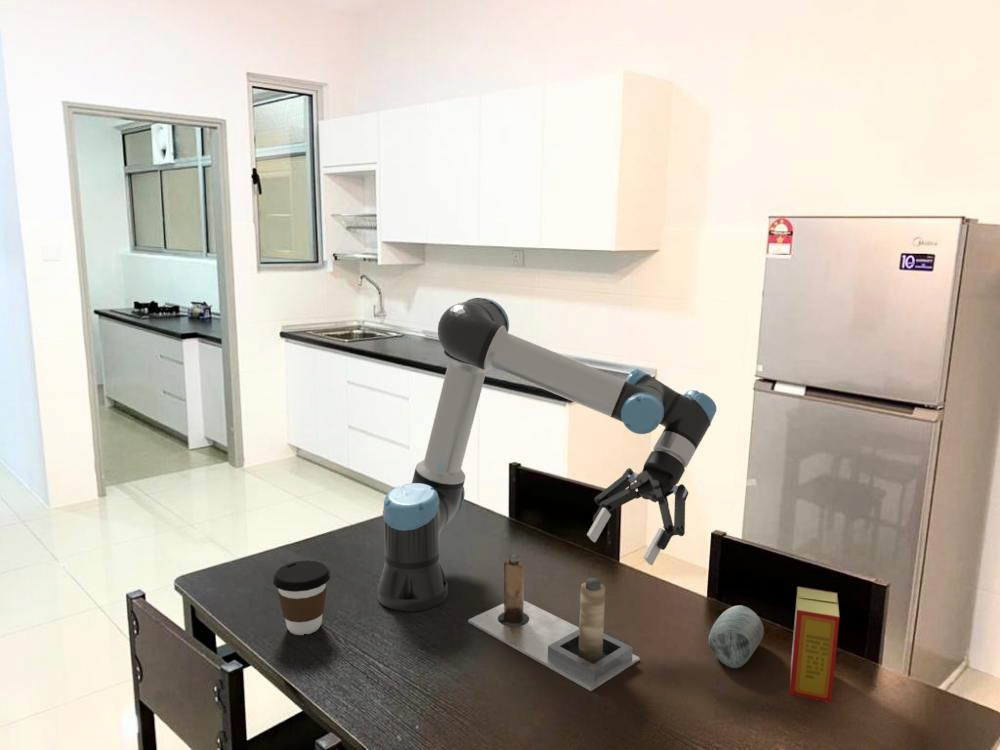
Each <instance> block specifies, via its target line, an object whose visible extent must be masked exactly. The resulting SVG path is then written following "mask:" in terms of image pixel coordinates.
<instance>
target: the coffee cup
mask: <svg viewBox="0 0 1000 750" xmlns="http://www.w3.org/2000/svg"><path fill="white" fill-rule="evenodd" d="M330 572H331V571H330V570H329V568H328V566H327V565H325V564H324V563H322V562H320V561H316V560H298V561H294V562H290V563H287V564H285V565H283V566H281V567H279V568H278V570H277V571H276V572H275V574H274V576H273V579H272V580H273V581H272V582H273V585H274V586H275V587H276V588H277V593H278V598H279V602H280V607H281V612H282V616H283V618H284V620H285V625H286V628H287V630H288V631H289V632H290V634H293V635H297V636H304V634H307V635H309V634H312V633H314V632H317V631H318V630H319V628H320V627H321V625H322V622H323V613H324V612H325V604H326V597H327V596H326V595H327V586H328V585H327V583H328V581H329V580H330V579H331V573H330Z"/></svg>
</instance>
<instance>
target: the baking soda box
mask: <svg viewBox="0 0 1000 750" xmlns="http://www.w3.org/2000/svg"><path fill="white" fill-rule="evenodd" d="M795 602H796V603H795V612H794V625H793V633H792V634H793V636H792V647H791V659H790V675H791V676H790V680H789V681H790V682H789V683H790V684H789V685H790V686H789V695H791V694H793V695H792V696H795V695H798V696H797V697H800V696H803V697H802V698H805V697H807V698H806V699H810V698H813V699H812V700H814V699H818V700H817V701H819V700H821V701H820V702H824V701H827V702H826V703H829V702H831V703H832V698H833V697H832V696H833V687H834V677H835V667H836V657H837V647H838V636H839V627H840V609H839V597H838V592H834V591H827V590H823V589H816V588H812V587H811V588H810V587H806V586H805V587H803V586H797V587H796V601H795Z"/></svg>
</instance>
